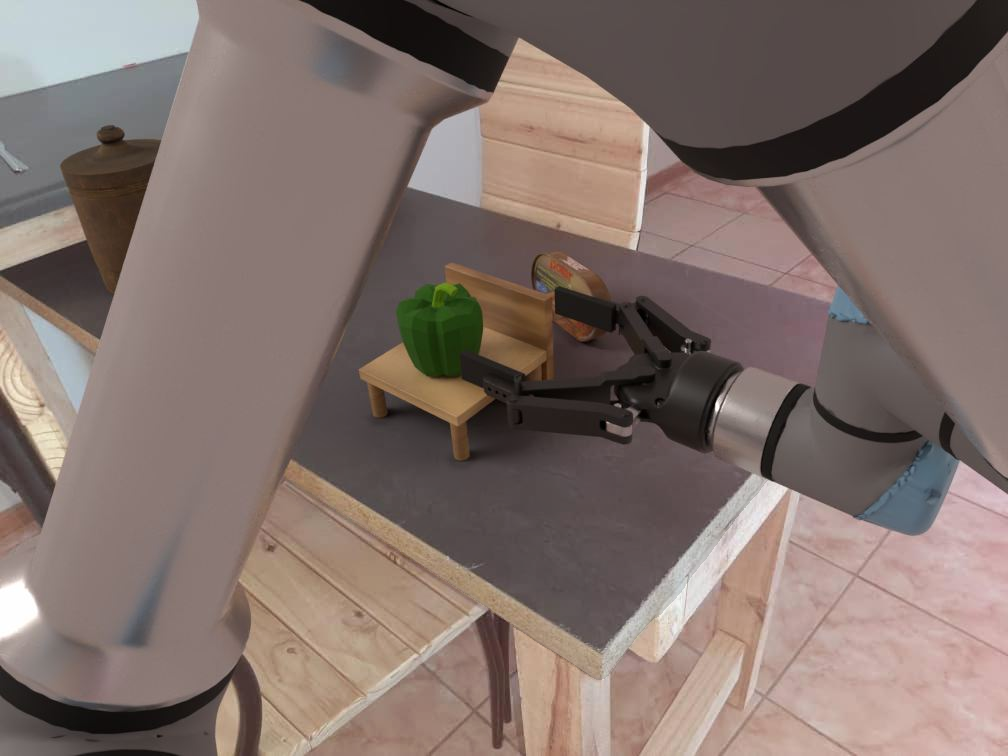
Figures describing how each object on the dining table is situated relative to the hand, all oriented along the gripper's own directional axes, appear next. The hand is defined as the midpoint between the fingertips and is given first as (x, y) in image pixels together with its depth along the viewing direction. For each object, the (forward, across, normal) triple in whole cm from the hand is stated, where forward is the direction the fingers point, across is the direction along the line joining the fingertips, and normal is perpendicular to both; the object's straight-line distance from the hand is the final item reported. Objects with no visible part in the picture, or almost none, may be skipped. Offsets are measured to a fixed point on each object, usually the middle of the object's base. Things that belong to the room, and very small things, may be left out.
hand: (512, 330), depth 71 cm
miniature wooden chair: (+10, +1, -14) cm, 17 cm away
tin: (+9, +22, -14) cm, 28 cm away
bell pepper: (+9, 0, -8) cm, 12 cm away
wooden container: (+68, 0, -14) cm, 70 cm away
